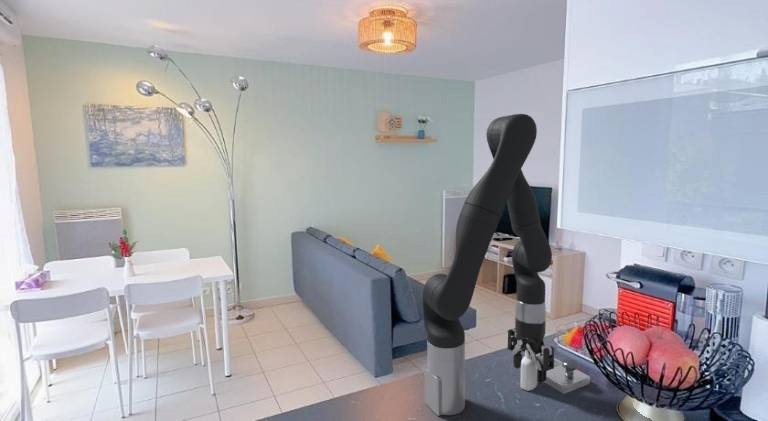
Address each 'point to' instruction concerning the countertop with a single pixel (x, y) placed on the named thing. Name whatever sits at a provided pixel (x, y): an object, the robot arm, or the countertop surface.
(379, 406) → the countertop surface
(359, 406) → the countertop surface
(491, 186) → the robot arm
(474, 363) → the countertop surface
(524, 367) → the eye dropper bottle
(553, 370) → the bolt plate
